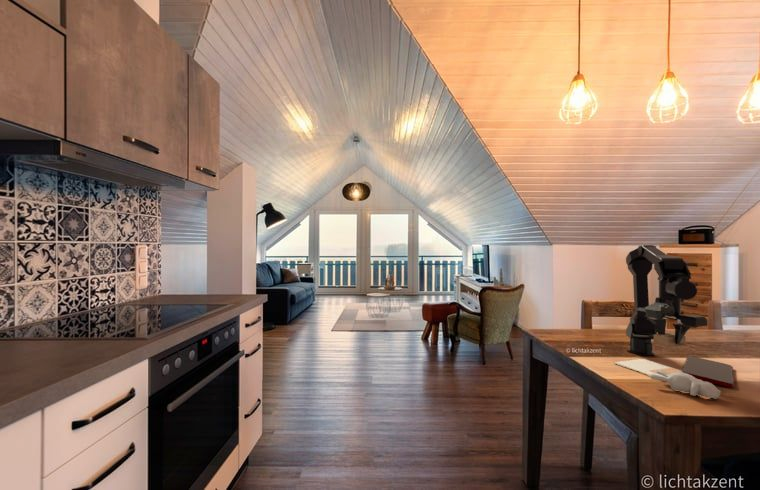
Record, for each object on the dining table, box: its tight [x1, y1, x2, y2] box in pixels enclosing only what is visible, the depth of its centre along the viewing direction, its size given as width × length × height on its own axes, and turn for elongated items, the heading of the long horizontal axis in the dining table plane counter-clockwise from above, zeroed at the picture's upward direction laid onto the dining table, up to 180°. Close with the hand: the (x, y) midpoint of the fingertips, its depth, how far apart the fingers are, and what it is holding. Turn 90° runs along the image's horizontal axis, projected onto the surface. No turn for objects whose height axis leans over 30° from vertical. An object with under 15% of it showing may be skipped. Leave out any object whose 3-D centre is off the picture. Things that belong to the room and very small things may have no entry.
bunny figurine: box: [649, 370, 722, 400], centre depth 106 cm, size 10×5×15 cm
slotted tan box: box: [653, 332, 686, 348], centre depth 119 cm, size 8×4×3 cm, turn 106°
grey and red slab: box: [681, 355, 735, 388], centre depth 120 cm, size 12×2×25 cm
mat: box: [613, 358, 683, 377], centre depth 123 cm, size 17×14×1 cm
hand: (669, 341), depth 119 cm, fingers closed on slotted tan box, 4 cm apart
